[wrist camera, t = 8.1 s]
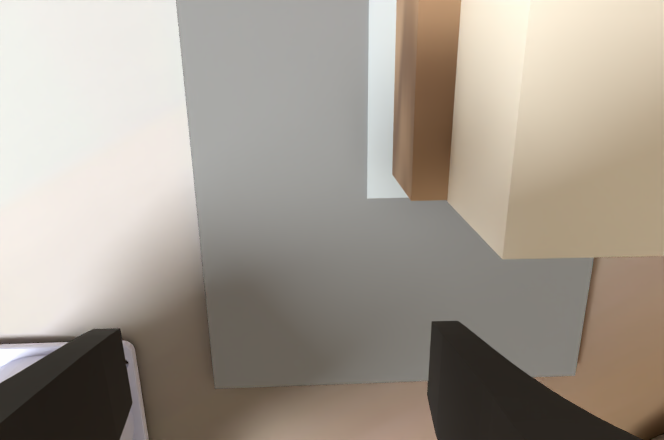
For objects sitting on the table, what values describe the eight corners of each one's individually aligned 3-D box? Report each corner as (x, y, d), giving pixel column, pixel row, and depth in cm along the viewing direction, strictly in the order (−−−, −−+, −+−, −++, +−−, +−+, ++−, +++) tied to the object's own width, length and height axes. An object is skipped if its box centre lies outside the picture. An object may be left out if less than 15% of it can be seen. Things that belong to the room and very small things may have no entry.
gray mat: (568, 368, 24) (576, 376, 24) (217, 380, 24) (214, 390, 23) (632, -44, 19) (644, -48, 18) (175, -41, 18) (170, -45, 18)
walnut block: (561, 170, 21) (618, 196, 17) (392, 174, 20) (410, 200, 17) (586, -17, 18) (658, -36, 15) (396, -16, 18) (419, -35, 14)
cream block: (580, 199, 17) (687, 255, 12) (447, 201, 17) (502, 259, 12) (616, -33, 15) (763, -76, 10) (463, -33, 14) (538, -78, 10)
